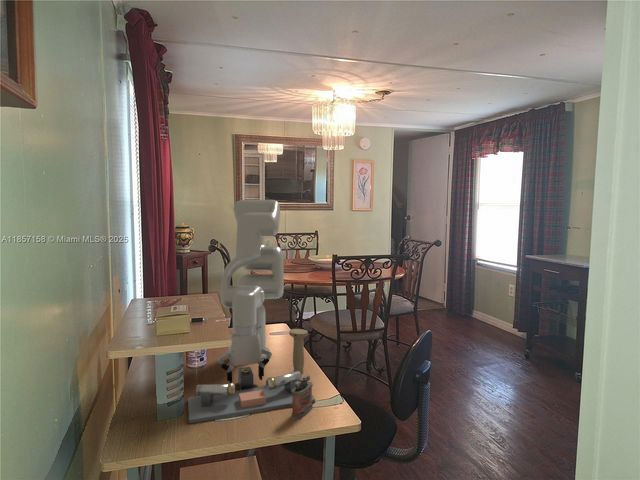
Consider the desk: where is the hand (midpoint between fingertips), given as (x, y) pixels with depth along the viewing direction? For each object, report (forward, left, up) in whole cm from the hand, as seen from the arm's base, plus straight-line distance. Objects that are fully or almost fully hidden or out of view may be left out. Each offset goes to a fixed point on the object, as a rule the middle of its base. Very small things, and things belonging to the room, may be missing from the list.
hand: (245, 380), depth 134 cm
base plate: (+11, 0, -2) cm, 11 cm away
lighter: (+21, +13, -2) cm, 25 cm away
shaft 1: (+10, -10, -2) cm, 15 cm away
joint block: (0, 0, -2) cm, 2 cm away
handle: (-4, +19, -2) cm, 20 cm away
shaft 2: (+10, +10, -2) cm, 15 cm away
